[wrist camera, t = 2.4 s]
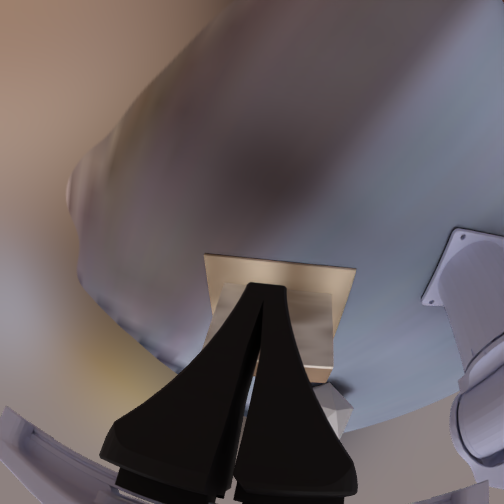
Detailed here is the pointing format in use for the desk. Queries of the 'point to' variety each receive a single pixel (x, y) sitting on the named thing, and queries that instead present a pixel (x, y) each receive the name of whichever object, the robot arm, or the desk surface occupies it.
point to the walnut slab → (293, 326)
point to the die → (334, 407)
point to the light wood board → (280, 278)
